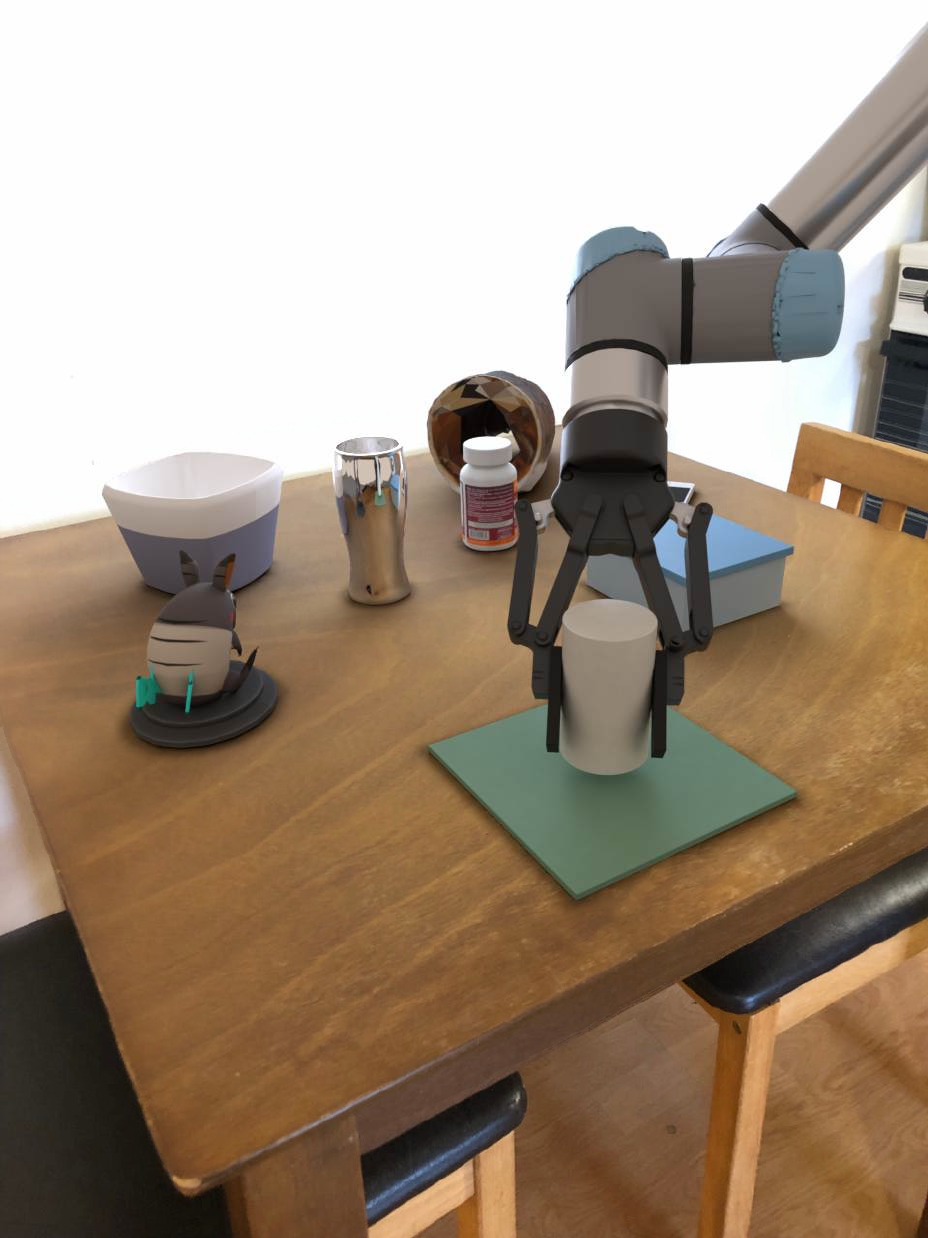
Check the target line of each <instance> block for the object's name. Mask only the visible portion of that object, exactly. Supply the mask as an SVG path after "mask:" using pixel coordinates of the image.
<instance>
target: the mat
mask: <svg viewBox="0 0 928 1238" xmlns="http://www.w3.org/2000/svg"><path fill="white" fill-rule="evenodd" d="M547 713H548V703H545V704H543V705H539V706H537V707H534V708H531V709H528V710H525V711H522V712H520V713H517V714H513V715H511V716H509V717H505V718H503V719H500V720H497V721H495V722H491V723H488V724H485V725H483V726H480V727H477V728H475V729H471V730H469V731H468V730H467V731H466V732H463V733H460V734H457V735H455V736H452V737H448V738H446V739H444V740H440V741H436V742H435V743H432V744H429V745H428V752H429V753H431V754H430V755H432V756H433V757H434V758H435V759H436V760H437V761H438V762H439V763H440V764H441V765H442V766H443V767H444V768H445V769H446V770H447V771H448V772H449V773H450V774H451V775H452V777H454V778H455V779H456V780H457V781H458V782H459V783H460V785H461V786H463V787H464V788H465V790H466V791H468V792H469V794H470V795H471V796H472V797H473V798H475V800H477V802H478V803H479V804H480V805H481V806H483V808H484V809H485V810H486V811H487V812H488V813H489V814H490V815H491V816H493V818H494V819H495V820H496V821H497V822H498V823H499V824H500V825H501V826H502V827H503V828H504V829H505V830H506V831H507V832H508V833H509V834H510V835H511V836H512V837H513V838H514V839H515V840H516V841H517V842H518V843H519V844H520V845H521V847H523V848H524V849H525V850H526V851H527V852H528V853H529V854H530V856H532V858H534V859H535V860H536V862H538V864H540V866H541V867H542V868H543V869H544V870H546V872H547V873H548V874H549V875H550V876H551V877H552V878H553V879H554V880H555V881H556V882H557V883H558V884H559V885H560V886H561V887H562V888H563V889H564V890H565V891H566V892H567V893H568V894H569V895H570V896H571V897H572V898H573V899H574V900H575V901H576V902H577V901H580V900H581V899H583V898H585V897H588V896H590V895H592V894H594V893H596V892H598V891H600V890H602V889H605V888H607V887H609V886H610V885H613V884H615V883H617V882H619V881H621V880H624V879H626V878H628V877H630V876H632V875H634V874H636V873H638V872H641V871H642V870H645V869H647V868H649V867H651V866H653V865H656V864H657V863H659V862H661V861H664V860H666V859H668V858H670V857H672V856H675V855H676V854H678V853H682V852H683V851H685V850H687V849H689V848H691V847H693V846H695V845H698V844H700V843H703V842H704V841H706V840H709V839H710V838H713V837H714V836H717V835H719V834H721V833H723V832H725V831H728V830H730V829H732V828H734V827H736V826H738V825H741V824H742V823H744V822H746V821H749V820H751V819H752V818H754V817H757V816H759V815H761V814H763V813H766V812H768V811H770V810H773V809H774V808H776V807H778V806H781V805H782V804H785V803H787V802H788V801H791V800H793V799H795V798H797V797H798V790H797V789H795V788H793V787H792V786H791V785H789V784H788V783H786V782H784V781H782V780H781V779H780V778H778V777H777V776H775V775H774V774H772V772H771V773H770V772H769V771H768V770H766V769H764V768H763V767H761V766H760V765H759V764H757V763H755V762H754V761H752V759H751V760H750V759H749V758H747V756H744V755H743V754H742V753H741V752H739V751H738V750H736V749H734V748H733V747H731V746H729V745H728V744H727V743H726V742H723V741H722V740H721V739H719V738H717V737H716V736H715V735H713V734H712V733H710V732H709V731H708V730H706V729H704V728H703V727H701V726H699V725H698V724H697V723H695V722H693V721H691V720H690V719H689V718H687V717H686V716H684V715H683V714H681V713H680V712H678V711H676V710H675V709H673V708H672V707H671V706H670V705H667V738H666V753H665V755H664V757H663V758H651V723H650V737H649V751H648V757H647V759H646V761H645V762H644V763H643V764H642V765H641V766H640V767H638V768H637V769H635V770H633V771H630V772H627V773H623V774H617V775H598V774H592V773H588V772H585V771H582V770H580V769H577V768H575V767H574V766H572V765H571V764H569V763H568V762H567V761H566V760H565V759H564V758H563V756H562V754H561V751H560V736H559V753H554V752H547V747H546V733H547ZM651 713H652V709H651ZM560 717H561V713H560Z"/></svg>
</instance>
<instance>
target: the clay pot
mask: <svg viewBox="0 0 928 1238" xmlns="http://www.w3.org/2000/svg"><path fill="white" fill-rule="evenodd" d="M427 413H428V414H427V420H426V431H427V432H426V433H427V445H428V449H429V452H430V455H431V457H432V459H433V462H434V465H435V466H436V468H437V470H438V472H439V473H440V474H441V476H442V477H443V478H444V480H445V481H447V483H448V484H449V486H450V488H451V489H453V491H454V492H456V493H458V494H459V495H461V491H460V472H461V470H462V468H463V467H464V466H465V465H466V464H468V463H466V462H465V461H464V459H463V444H464V442H465V441H467V440H469V439H473V438H478V437H498V436H499V435H501V434H507V435H509V433H510V432H511V434H512V436H513V438H514V441H515V443H516V445H517V447H518V449H519V451H518V453H517V454H516V456H515V458H514V460H511V461H509V463H511V464H512V465H513V466H514V467H515V469H516V471H517V495H518V494H523V493H528V492H531V491H532V490H533V488H534V486H536V484H537V483H538V481H539V480H540V479H541V478H542V476H543V474H544V473H545V471H546V469H547V467H548V460H549V456H550V453H551V451H552V448H553V443H554V440H555V437H556V417H555V411H554V409H553V405H552V403H551V401H550V399H549V397H548V395H547V393H545V391H544V390H543V389H542V388H541V386H539V385H538V384H537V383H535V382H534V381H531V380H529V379H527V378H524V377H521V376H518V375H516V374H514V373H512V372H509V371H506V370H493V371H489V372H486V373H477V374H473V375H469V376H466V377H464V378H462V379H459V380H458V381H455V382H454V383H451V384H450V385H448V386H447V387H446V388H444V389H443V390H442V391H441V393H439V394H438V396H437V397H435V399H434V400H433V402H432V403H431V406H430V408H429V410H428V412H427Z"/></svg>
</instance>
